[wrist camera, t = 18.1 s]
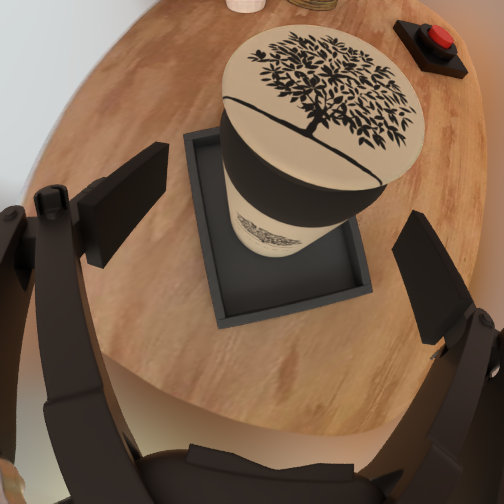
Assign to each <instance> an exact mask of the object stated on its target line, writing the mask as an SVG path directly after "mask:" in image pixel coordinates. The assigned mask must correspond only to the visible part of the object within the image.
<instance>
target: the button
mask: <svg viewBox="0 0 504 504" xmlns="http://www.w3.org/2000/svg"><path fill="white" fill-rule="evenodd" d="M428 34H429V35H430V37H431V38H432V39H433V40H434V41H435V42H436V43H438V44H439V45H441V46H442V47H444V48H447V49H448V48H449V47H450V46H451V45H452V43H453V42H454V40H453V38H452V36H451V35H450V34H449V33H448V32H447V31H446V30H444V29H443V28H441V27H440V26H437V25H433V26H432V27H431V29H430V30H429V32H428Z"/></svg>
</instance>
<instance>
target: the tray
mask: <svg viewBox="0 0 504 504" xmlns="http://www.w3.org/2000/svg"><path fill="white" fill-rule="evenodd" d="M183 137H184V144H185V151H186V158H187V165H188V172H189V178H190V184H191V191H192V197H193V203H194V209H195V214H196V220H197V226H198V231H199V237H200V242H201V248H202V253H203V258H204V263H205V268H206V273H207V278H208V283H209V288H210V293H211V298H212V303H213V307H214V312H215V316H216V320H217V326H218V329H224V328H229V327H234V326H239V325H244V324H248V323H253V322H258V321H262V320H267V319H271V318H276V317H280V316H284V315H289V314H293V313H297V312H301V311H305V310H309V309H313V308H317V307H321V306H325V305H329V304H333V303H336V302H340V301H344V300H347V299H351V298H355V297H358V296H362V295H365V294H369V293H372V292H373V290H372V285H371V280H370V275H369V270H368V265H367V261H366V256H365V252H364V248H363V243H362V239H361V235H360V231H359V227H358V223H357V219H356V216H353V217H351V218H350V219H348V220H347V221H345V222H344V223H342V224H340V225H339V226H337V227H336V228H334V229H333V230H331V231H330V232H328V233H326V234H325V235H323V236H322V237H320V238H318V239H317V240H315V241H314V242H312V243H311V244H309V245H307V246H306V247H304V248H303V249H301V250H299V251H298V252H296V253H294V254H291V255H288V256H284V257H267V256H263V255H260V254H258V253H255V252H253V251H252V250H250V249H249V248H247V247H246V246H245V245H244V244H243V243H242V242H241V241H240V240H239V238H238V237H237V235H236V234H235V232H234V229H233V227H232V223H231V218H230V211H229V204H228V196H227V189H226V181H225V174H224V166H223V158H222V150H221V143H220V127H215V128H210V129H205V130H200V131H195V132H191V133H186V134H183Z"/></svg>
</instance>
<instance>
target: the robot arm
mask: <svg viewBox="0 0 504 504" xmlns="http://www.w3.org/2000/svg"><path fill="white" fill-rule="evenodd" d="M168 154H169V144H168V143H161V142H155V143H153V144H152V145H150V146H149V147H147V148H146V149H144V150H143V151H142V152H140V153H139V154H137V155H136V156H135V157H133V158H132V159H130V160H129V161H128V162H126V163H125V164H124V165H122V166H121V167H120V168H118V169H117V170H116V171H114V172H113V173H112V174H110V175H109V176H108V177H102V178H100V179H98V180H95V181H93V182H92V183H91V184H90V185H88V186H87V188H85V189H83V190H82V191H81V192H80V193H79V194H77V195H76V196H75V197H74V198H73V199H71V200H70V201H69V198H68V190H67V188H66V187H65V186H63V185H58V184H56V185H50V186H47V187H44V188H42V189H40V190H39V191H38V192H37V193H35V195H34V202H35V207H36V211H37V216H38V217H26V213H25V209H24V207H22V206H19V205H15V206H10V207H8V208H6V209H4V210H3V211H2V212H1V213H0V504H26V502H25V499H24V497H23V493H22V492H23V491H24V490H25V482H24V480H23V478H22V477H21V476H20V475H19V473H18V471H17V469H16V467H15V466H14V461H15V450H16V401H17V384H18V372H19V362H20V354H21V347H22V340H23V334H24V328H25V323H26V318H27V313H28V308H29V303H30V299H31V295H32V291H33V287H34V283H35V304H36V319H37V331H38V341H39V349H40V357H41V363H42V369H43V375H44V381H45V386H46V391H47V401H46V402H45V403H44V406H43V412H44V418H45V423H46V426H47V430H48V434H49V437H50V440H51V444H52V447H53V450H54V453H55V456H56V459H57V462H58V465H59V468H60V471H61V473H62V476H63V478H64V481H65V484H66V486H67V488H68V491H69V493H70V495H71V496H70V497H67V498H65V499H63V500H61V501H59V502H57V503H54V504H504V328H503V329H502V330H501V332H499V331H498V330H496V329H495V325H494V322H493V320H492V318H491V317H490V315H489V314H488V313H487V312H486V311H484V310H483V309H481V308H476V306H475V304H474V301H473V299H472V297H471V295H470V293H469V291H468V290H467V287H466V285H465V284H464V281H463V279H462V277H461V275H460V274H459V272H458V271H457V269H456V267H455V265H454V263H453V261H452V260H451V258H450V256H449V254H448V253H447V251H446V249H445V247H444V246H443V244H442V242H441V241H440V239H439V237H438V236H437V234H436V232H435V231H434V229H433V228H432V226H431V225H430V223H429V221H428V220H427V218H426V217H425V215H424V214H423V213H420V212H418V211H415V210H412V212H411V214H410V216H409V218H408V220H407V222H406V224H405V226H404V228H403V230H402V231H401V233H400V235H399V237H398V239H397V241H396V242H395V244H394V246H393V248H392V251H393V254H394V257H395V259H396V262H397V265H398V267H399V270H400V273H401V276H402V279H403V281H404V284H405V287H406V290H407V293H408V296H409V299H410V303H411V306H412V309H413V312H414V315H415V319H416V322H417V326H418V329H419V333H420V337H421V340H422V343H423V344H430V345H435V344H436V343H437V342H438V341H439V340H440V339H441V338H442V337H443V336H444V339H445V344H444V345H443V346H442V347H441V348H440V349H439V350H438V351H437V352H436V353H435V354H434V355H433V356H432V357H431V358H430V359H431V360H432V359H433V358H435V360H434V362H433V364H432V366H431V368H430V370H429V372H428V374H427V376H426V378H425V380H424V382H423V384H422V385H421V387H420V389H419V391H418V393H417V394H416V396H415V398H414V399H413V401H412V403H411V405H410V406H409V408H408V410H407V411H406V413H405V415H404V416H403V418H402V419H401V421H400V422H399V424H398V426H397V427H396V428H395V430H394V431H393V433H392V434H391V436H390V437H389V439H388V440H387V441H386V443H385V444H384V446H383V447H382V449H381V450H380V451H379V452H378V454H377V455H376V457H375V458H374V459H373V460H372V462H370V463H369V464H368V465H367V466H366V467H365V468H363V469H362V470H360V471H359V472H358V473H355V472H354V464H325V463H317V464H312V465H306V466H301V467H294V468H288V469H281V470H275V469H271V468H268V467H266V466H263V465H260V464H258V463H255V462H252V461H250V460H247V459H245V458H243V457H241V456H238V455H236V454H234V453H230V452H225V451H220V450H215V449H211V448H206V447H202V446H198V445H194V444H190V445H189V449H188V450H187V449H176V450H166V451H160V452H156V453H153V454H150V455H147V456H145V457H143V456H142V454H141V452H140V450H139V448H138V446H137V444H136V442H135V439H134V438H133V435H132V433H131V432H130V429H129V428H128V426H127V423H126V421H125V419H124V416H123V414H122V412H121V409H120V406H119V404H118V401H117V399H116V396H115V393H114V391H113V388H112V385H111V382H110V379H109V376H108V373H107V370H106V367H105V364H104V361H103V357H102V354H101V351H100V347H99V344H98V340H97V336H96V333H95V329H94V325H93V321H92V317H91V312H90V308H89V303H88V299H87V294H86V289H85V284H84V278H83V273H82V267H81V262H80V258H81V256H82V255H83V254H84V253H85V254H86V259H87V263H88V264H90V265H93V266H96V267H99V268H102V269H104V267H105V266H106V264H107V263H108V262H109V260H110V259H111V258H112V256H113V255H114V254H115V252H116V251H117V250H118V248H119V247H120V246H121V245H122V243H123V242H124V241H125V239H126V238H127V237H128V236H129V234H130V233H131V232H132V231H133V229H134V228H135V227H136V226H137V224H138V223H139V222H140V221H141V220H142V218H143V217H144V216H145V215H146V214H147V212H148V211H149V210H150V209H151V208H152V206H153V205H154V204H155V203H156V202H157V201H158V199H159V198H160V197H161V196H162V195H163V194H164V192H165V191H166V180H167V166H168ZM499 366H500V368H499V371H498V373H497V374H496V375H495V376H494V377H492V373H493V372H494V371H495V370H496V369H497V368H498V367H499Z"/></svg>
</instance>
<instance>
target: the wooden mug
mask: <svg viewBox="0 0 504 504" xmlns="http://www.w3.org/2000/svg"><path fill="white" fill-rule="evenodd" d="M288 1H290V2H292V3H294V4H296V5H299V6H302V7H305V8H308V9H314V10H330V9H334V8H335V7H336V4H337V0H288Z"/></svg>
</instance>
